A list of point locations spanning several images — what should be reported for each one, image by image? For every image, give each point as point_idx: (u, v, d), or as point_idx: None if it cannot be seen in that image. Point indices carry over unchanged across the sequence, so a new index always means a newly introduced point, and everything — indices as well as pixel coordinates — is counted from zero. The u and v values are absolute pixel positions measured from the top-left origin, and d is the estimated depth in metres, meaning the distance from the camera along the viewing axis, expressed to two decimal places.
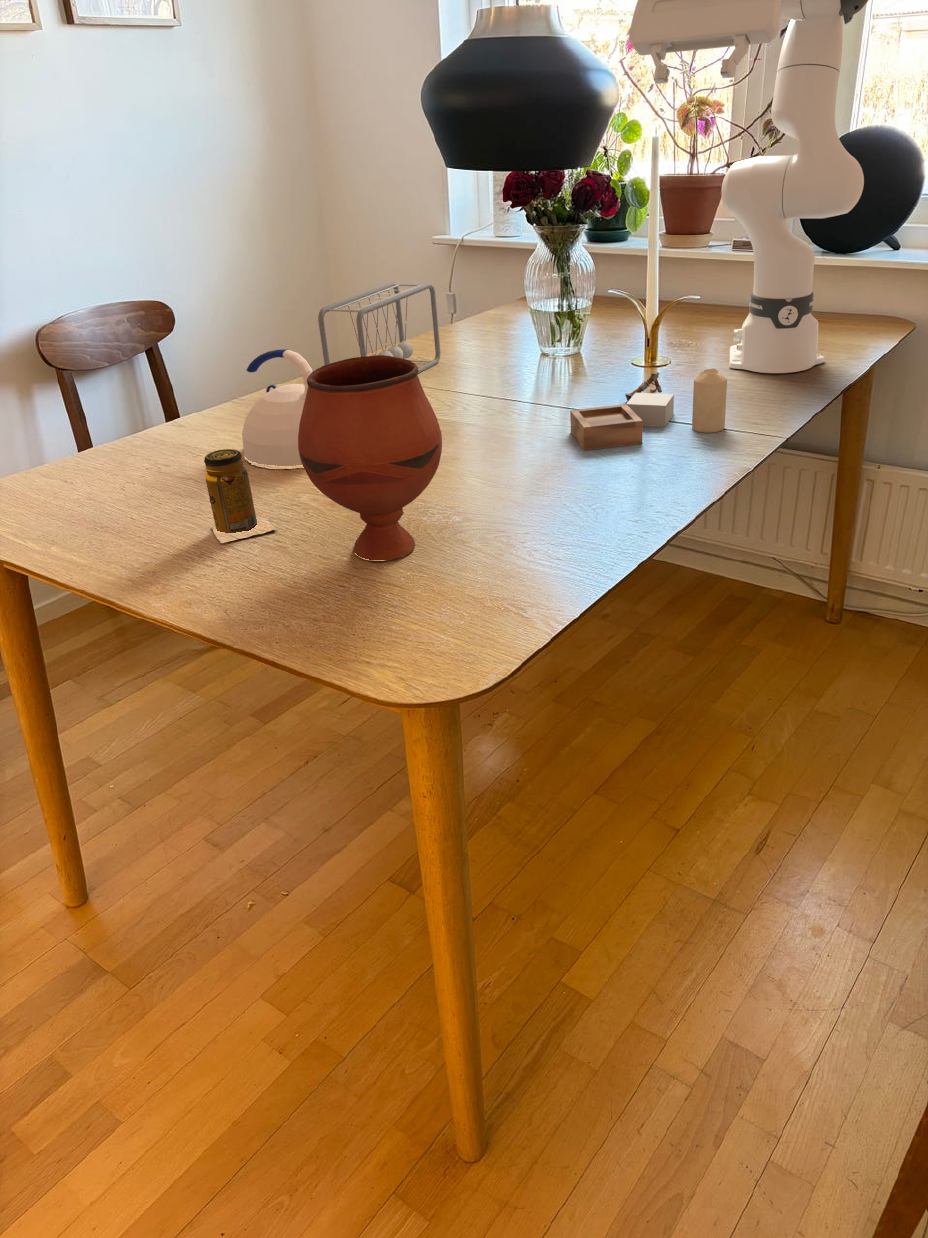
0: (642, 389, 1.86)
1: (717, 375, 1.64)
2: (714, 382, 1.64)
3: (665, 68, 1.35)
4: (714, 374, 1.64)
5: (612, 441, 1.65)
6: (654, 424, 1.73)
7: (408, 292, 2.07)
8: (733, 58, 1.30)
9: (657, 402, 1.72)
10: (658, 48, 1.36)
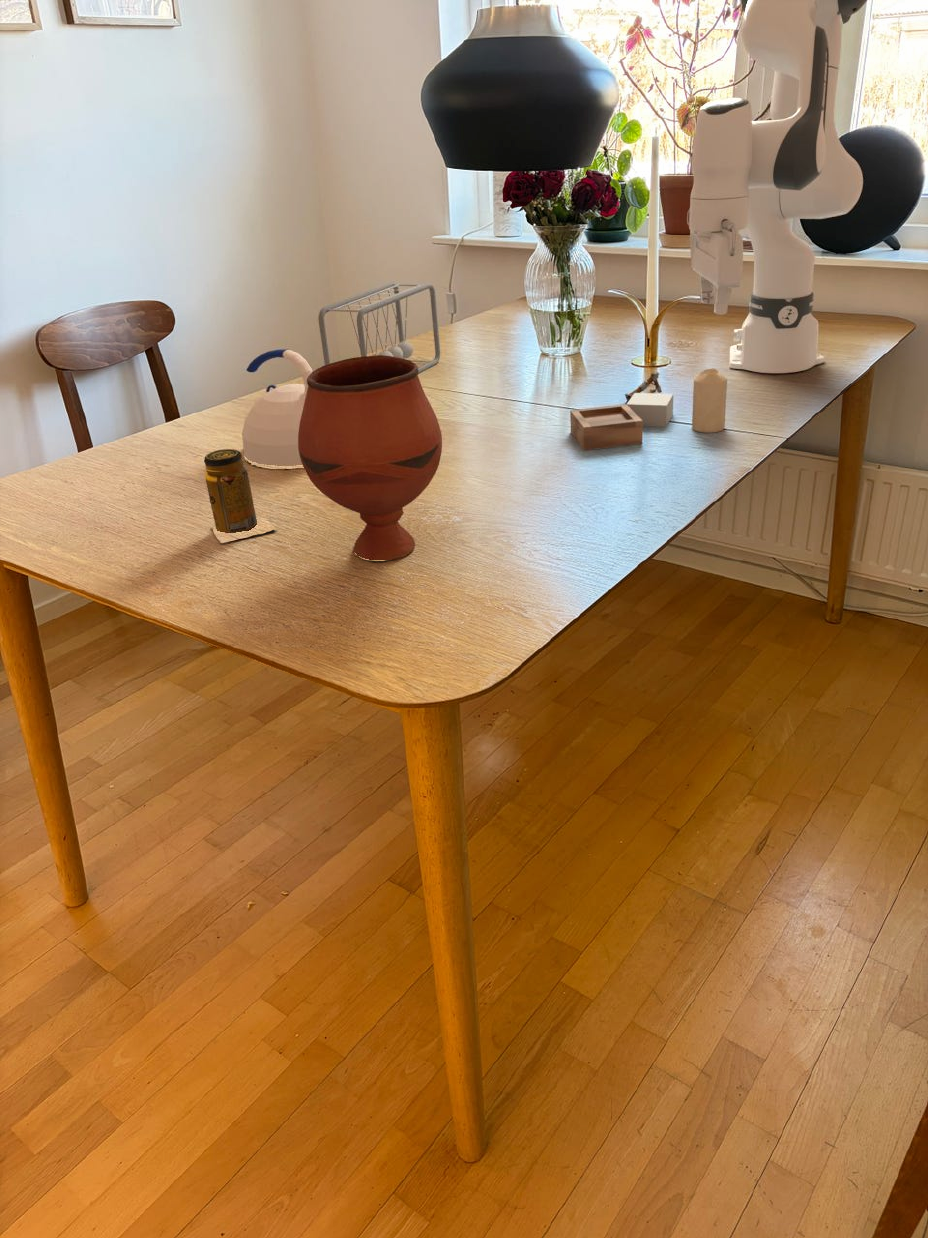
0: (642, 389, 1.86)
1: (717, 375, 1.64)
2: (714, 382, 1.64)
3: (704, 295, 1.62)
4: (714, 374, 1.64)
5: (612, 441, 1.65)
6: (655, 424, 1.73)
7: (408, 292, 2.07)
8: (716, 303, 1.54)
9: (658, 402, 1.72)
10: (701, 277, 1.62)
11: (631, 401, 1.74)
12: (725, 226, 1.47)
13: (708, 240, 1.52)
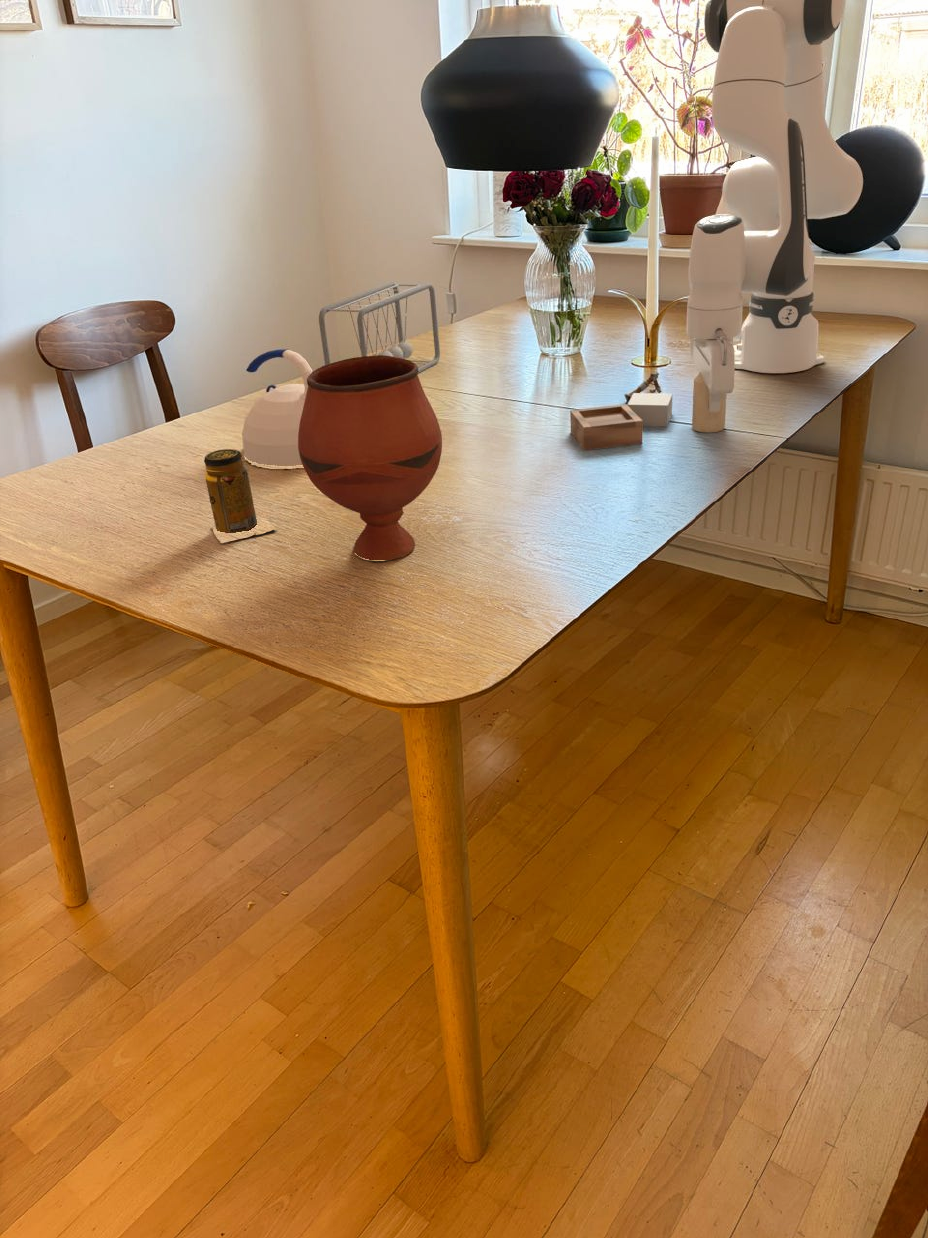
0: (641, 390, 1.86)
1: None
2: None
3: None
4: None
5: (612, 441, 1.65)
6: (656, 424, 1.73)
7: (408, 292, 2.07)
8: (710, 402, 1.64)
9: (659, 402, 1.72)
10: None
11: (631, 401, 1.74)
12: (718, 336, 1.56)
13: (703, 345, 1.61)
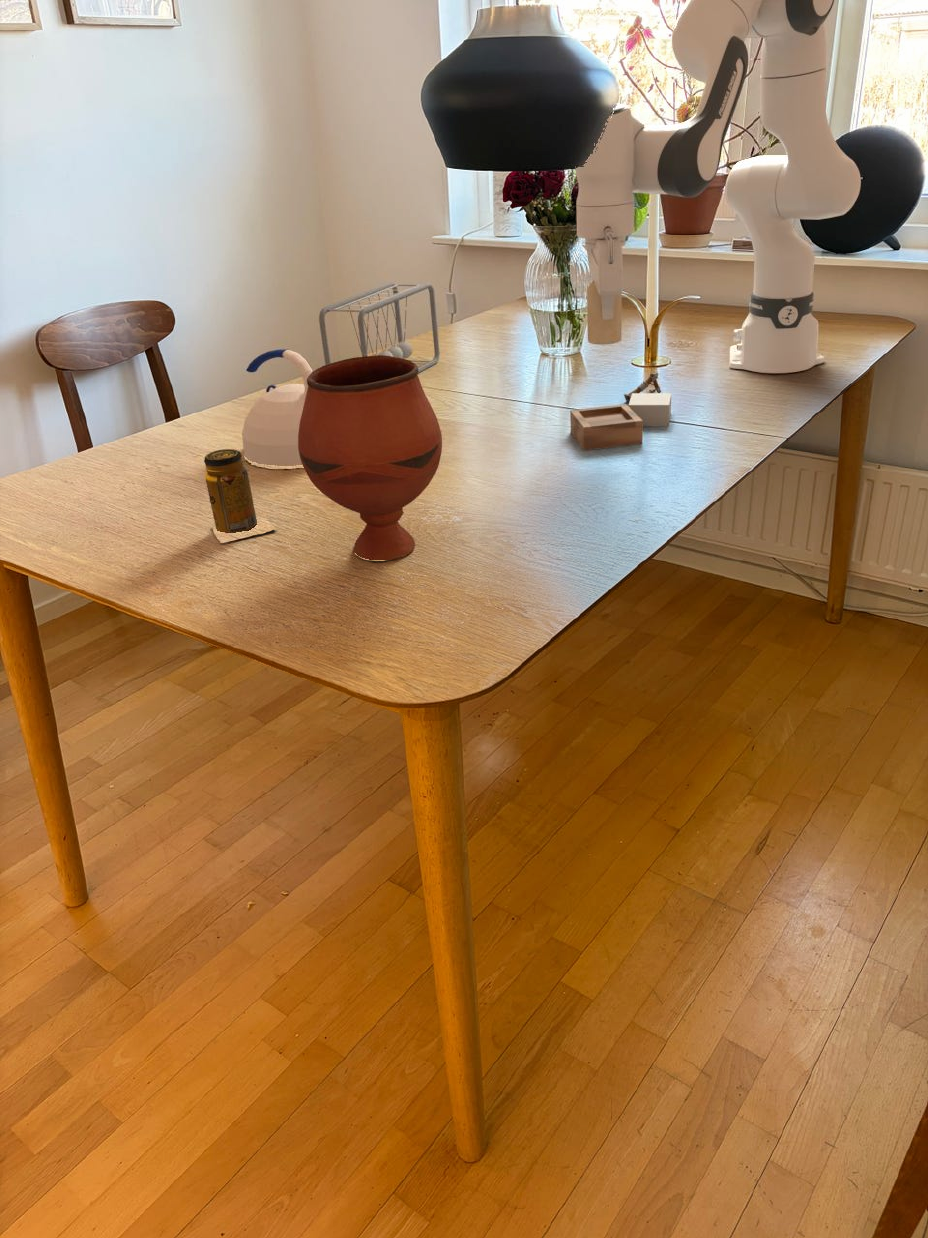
0: (641, 390, 1.86)
1: None
2: None
3: None
4: None
5: (612, 441, 1.65)
6: (657, 424, 1.73)
7: (408, 292, 2.07)
8: (602, 308, 1.55)
9: (659, 402, 1.73)
10: None
11: (632, 402, 1.74)
12: (605, 234, 1.47)
13: (594, 247, 1.52)
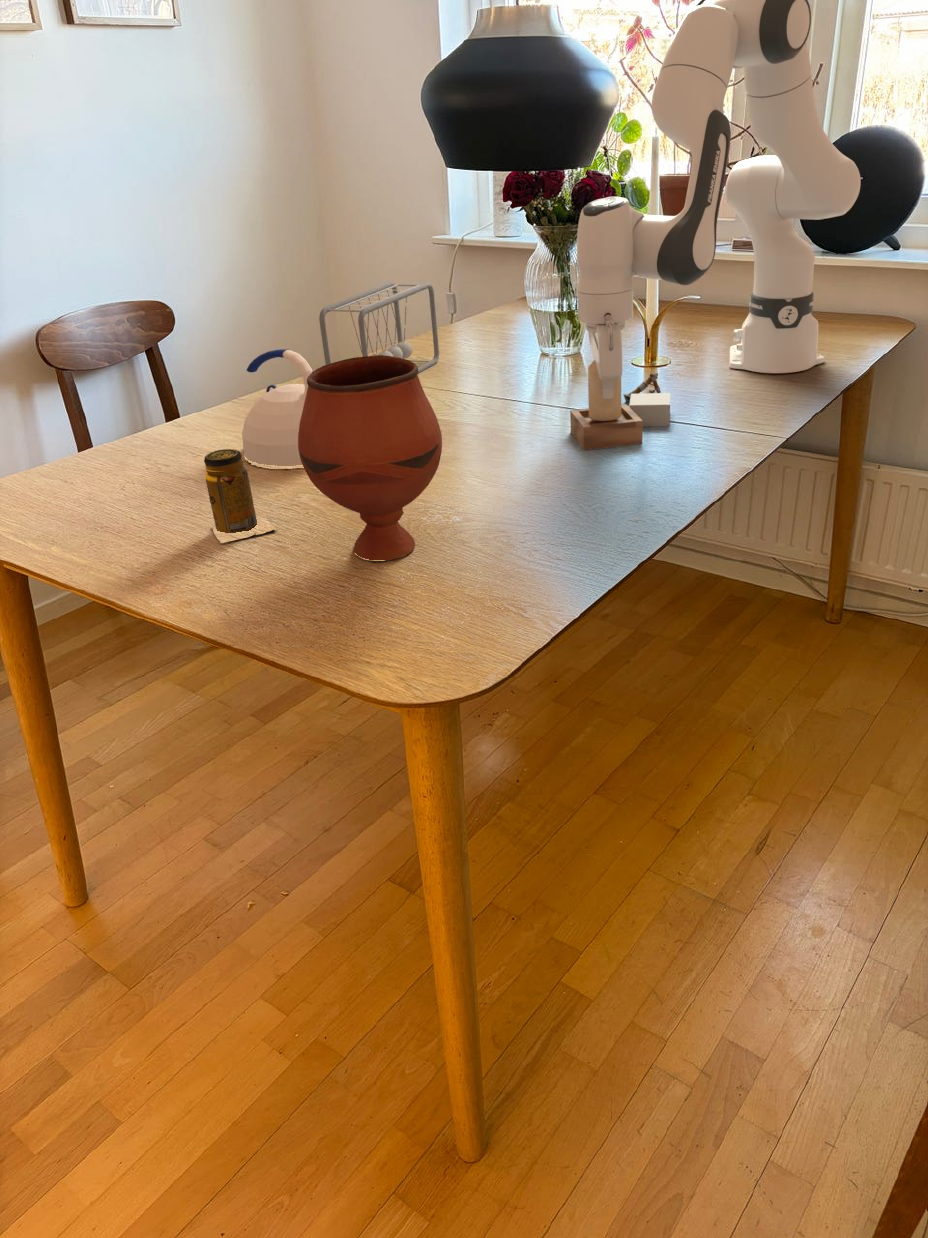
0: (641, 390, 1.86)
1: None
2: None
3: None
4: None
5: (612, 441, 1.65)
6: (658, 423, 1.73)
7: (408, 292, 2.07)
8: (603, 388, 1.61)
9: (660, 402, 1.73)
10: None
11: (632, 402, 1.74)
12: (606, 321, 1.54)
13: (594, 331, 1.58)
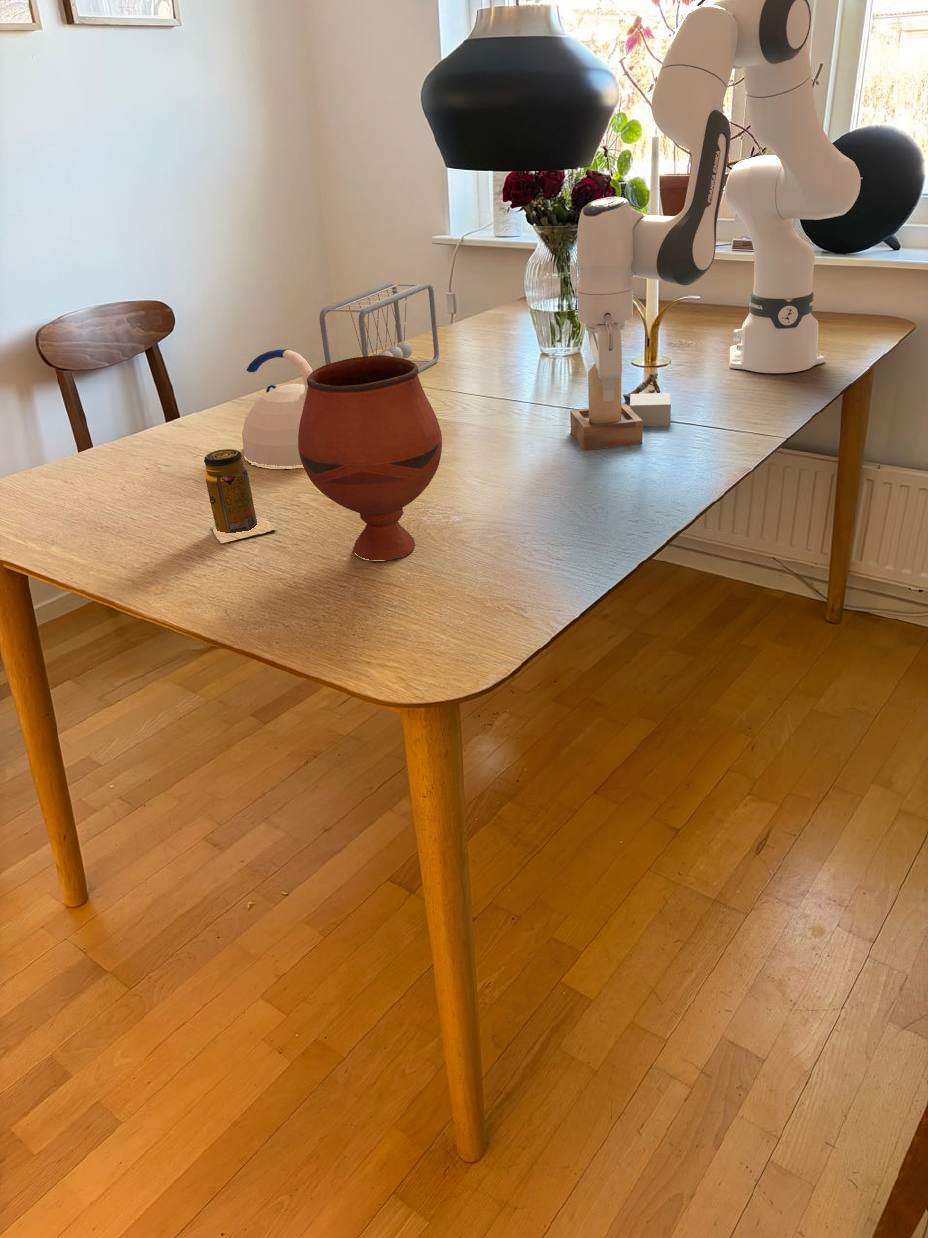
0: (640, 390, 1.86)
1: None
2: None
3: None
4: None
5: (612, 441, 1.65)
6: (659, 423, 1.73)
7: (408, 292, 2.07)
8: (603, 390, 1.60)
9: (660, 402, 1.73)
10: None
11: (633, 402, 1.74)
12: (605, 321, 1.53)
13: (594, 331, 1.58)
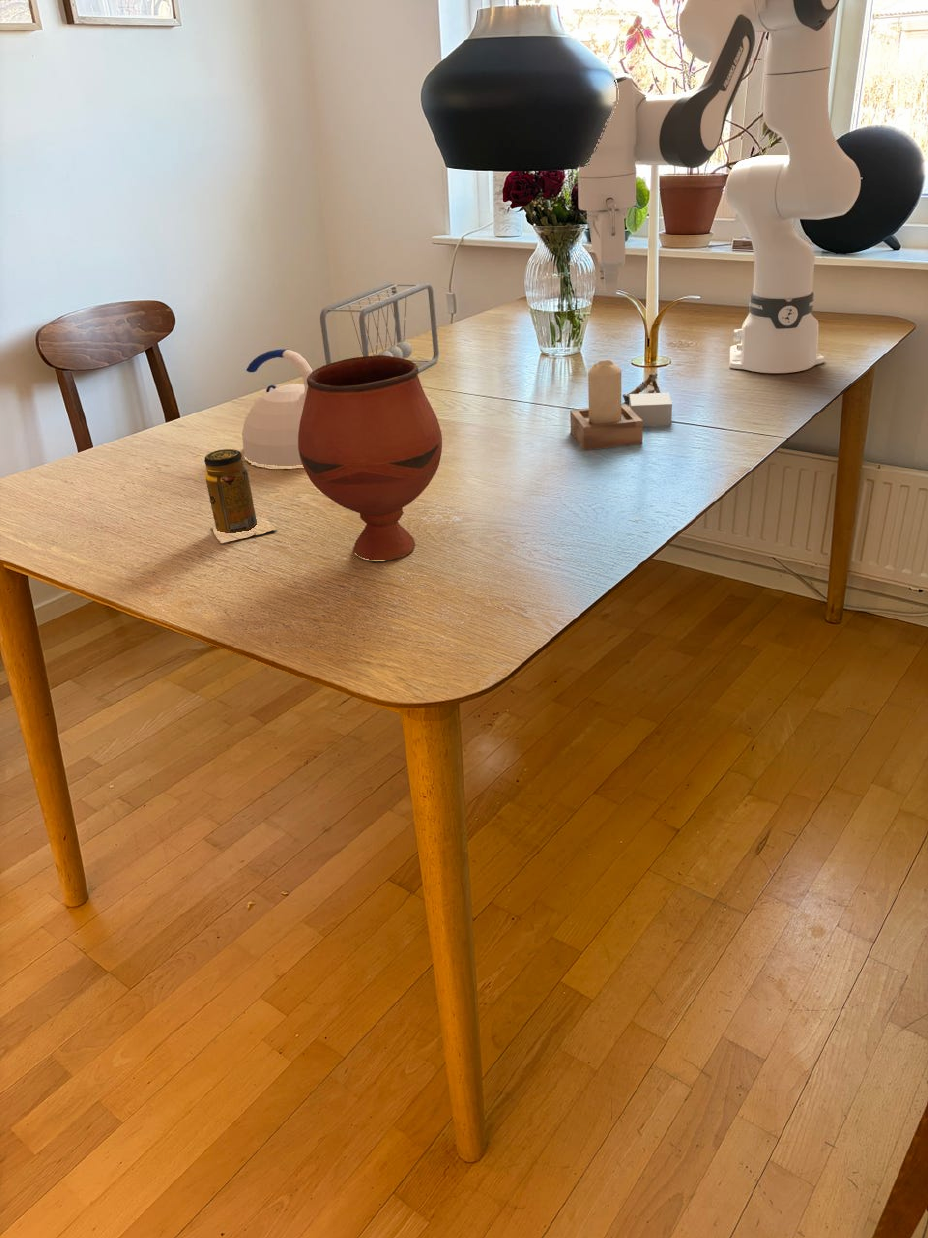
0: (640, 390, 1.86)
1: (610, 367, 1.62)
2: (606, 374, 1.62)
3: (601, 274, 1.61)
4: (607, 366, 1.62)
5: (612, 441, 1.65)
6: (660, 423, 1.73)
7: (408, 292, 2.07)
8: (605, 283, 1.52)
9: (661, 402, 1.73)
10: None
11: (633, 402, 1.74)
12: (607, 205, 1.46)
13: (595, 219, 1.51)
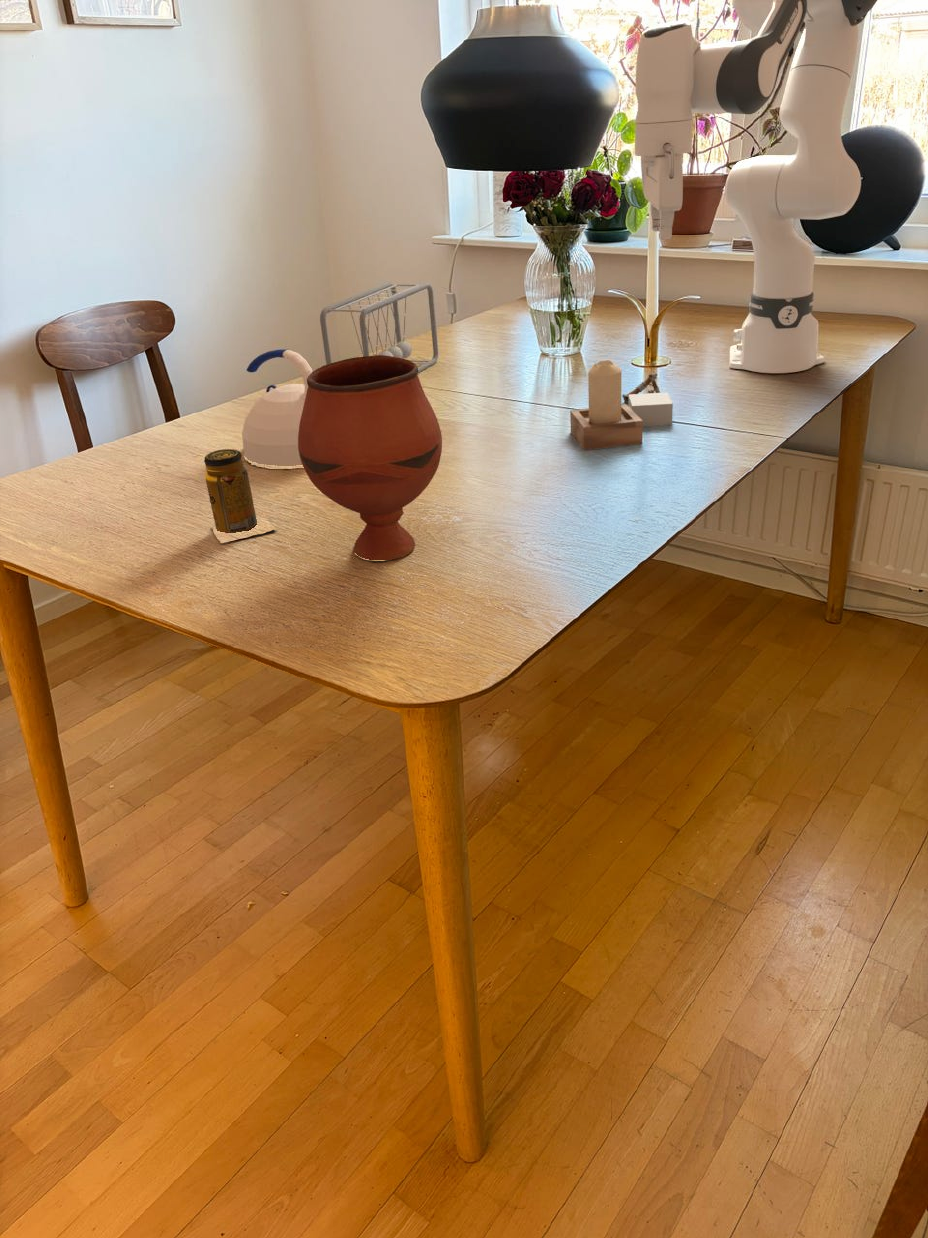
0: (639, 390, 1.86)
1: (610, 367, 1.62)
2: (607, 374, 1.62)
3: (653, 223, 1.65)
4: (607, 366, 1.62)
5: (612, 441, 1.65)
6: (661, 423, 1.73)
7: (408, 292, 2.07)
8: (660, 228, 1.56)
9: (661, 401, 1.73)
10: (651, 205, 1.65)
11: (634, 402, 1.73)
12: (666, 149, 1.50)
13: (652, 165, 1.54)
